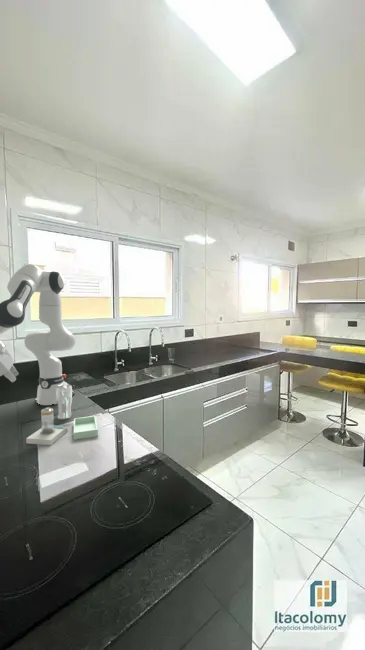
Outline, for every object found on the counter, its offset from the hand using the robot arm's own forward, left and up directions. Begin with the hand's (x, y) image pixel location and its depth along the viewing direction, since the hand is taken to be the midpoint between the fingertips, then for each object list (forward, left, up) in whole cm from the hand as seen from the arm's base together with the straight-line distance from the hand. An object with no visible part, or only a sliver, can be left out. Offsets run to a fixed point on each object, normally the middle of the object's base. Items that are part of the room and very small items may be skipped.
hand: (15, 378), depth 109 cm
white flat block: (-3, +11, -24) cm, 27 cm away
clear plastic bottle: (-23, +7, -25) cm, 34 cm away
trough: (-11, +23, -24) cm, 35 cm away
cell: (-3, +11, -22) cm, 25 cm away
